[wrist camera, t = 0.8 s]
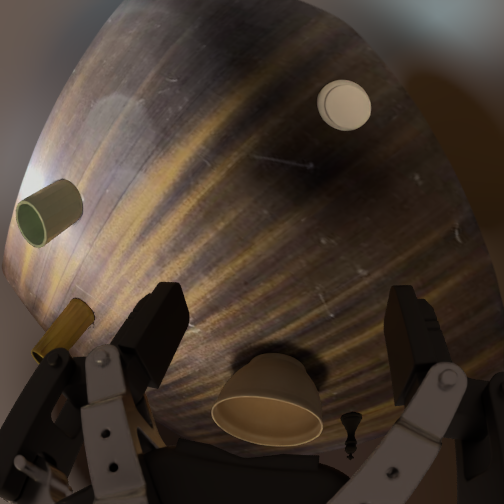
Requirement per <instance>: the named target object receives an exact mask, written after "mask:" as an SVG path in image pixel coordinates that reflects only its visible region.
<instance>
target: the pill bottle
mask: <svg viewBox="0 0 504 504" xmlns="http://www.w3.org/2000/svg"><path fill="white" fill-rule="evenodd" d="M317 107H318V110H319V113H320V115H321V117H322V118H323V120H324V121H325V122H326V123H327V124H328V125H330V126H331V127H333V128H335V129H338V130H342V131H350V130H355V129H357V128H359V127H360V126H362V125H363V124H364V123H365V122H366V121H367V120H368V118H369V117H370V113H371V103H370V100H369V97H368V95H367V94H366V92H365V91H364V89H363V88H362V87H360V86H359V85H358V84H356V83H354V82H352V81H348V80H336V81H333V82H331V83H329V84H327V85H326V86H324V87H323V88H322V90H321V91H320V92H319V94H318V98H317Z"/></svg>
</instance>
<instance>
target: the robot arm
mask: <svg viewBox="0 0 504 504" xmlns="http://www.w3.org/2000/svg"><path fill="white" fill-rule="evenodd" d="M188 325H189V310H188V307H187V304H186V301H185V298H184V295H183V291H182V288H181V285H180V284H179V283H177V282H159V283H158V285H157V286H156V288H155V289H154V290H153V292H152V293H149V294H147V295H146V296H145V297H144V298H142V299H141V300H140V301H139V302H138V303H137V305H136V306H135V308H134V309H133V312H131V313H130V315H129V316H128V319H126V321H125V322H124V324H123V325H122V327H121V328H120V329H119V331H118V332H117V334H116V335H115V337H114V338H113V340H112V341H111V343H110V344H105V345H100V346H98V347H96V348H94V349H93V350H92V351H91V352H90V353H89V354H88V356H87V357H72V356H71V355H70V353H69V352H68V350H67V349H65V348H55V349H53V350H51V351H50V352H48V353H47V354H46V355H45V357H44V358H43V360H42V361H41V363H40V364H39V366H38V367H37V369H36V370H35V372H34V373H33V375H32V376H31V378H30V380H29V381H28V383H27V384H26V386H25V388H24V389H23V391H22V393H21V394H20V396H19V397H18V399H17V401H16V402H15V404H14V406H13V408H12V409H11V411H10V413H9V415H8V416H7V418H6V420H5V422H4V423H3V425H2V427H1V429H0V497H1V498H3V499H4V500H6V501H7V502H9V503H11V504H404V503H405V502H406V501H407V499H408V498H409V497H410V495H411V494H412V493H413V491H414V490H415V488H416V487H417V485H418V484H419V482H420V481H421V479H422V478H423V476H424V475H425V473H426V472H427V470H428V469H429V467H430V465H431V464H432V462H433V460H434V459H435V457H436V455H437V454H438V452H439V450H440V448H441V445H442V443H441V440H442V438H443V437H446V438H452V439H455V448H456V461H457V462H456V464H457V504H504V372H499V373H497V374H495V375H494V376H493V377H492V379H491V380H490V381H482V380H476V379H471V378H468V377H466V375H465V373H464V371H463V370H462V369H461V368H460V367H459V366H457V365H456V364H453V363H452V361H451V358H450V354H449V351H448V348H447V345H446V342H445V339H444V336H443V334H442V331H441V330H440V325H439V323H438V321H437V317H436V315H435V312H434V309H433V308H432V306H431V305H430V304H429V303H428V302H427V301H426V300H425V299H417V297H416V295H415V292H414V289H413V287H412V286H411V285H399V286H392V287H391V289H390V294H389V299H388V303H387V308H386V313H385V317H384V335H385V341H386V346H387V352H388V358H389V365H390V371H391V378H392V386H393V394H394V402H395V406H401V405H404V406H405V410H404V412H403V413H402V415H401V416H400V418H399V419H398V420H397V421H396V422H395V424H394V425H393V426H392V428H391V429H390V430H389V432H388V433H387V435H386V436H385V437H384V439H383V440H382V441H381V443H380V444H379V445H378V446H377V448H376V449H375V450H374V452H373V453H372V454H371V455H370V456H369V458H368V459H367V460H366V461H365V462H364V464H363V465H362V466H361V467H360V468H359V469H358V471H357V472H356V473H355V474H354V475H353V476H352V477H351V478H349V477H348V476H347V475H345V474H344V473H343V472H341V471H339V470H337V469H335V468H333V467H330V466H328V465H324V464H321V463H319V456H317V455H316V456H315V455H291V454H279V455H272V456H263V457H254V458H242V457H239V456H236V455H234V454H231V453H229V452H227V451H224V450H222V449H220V448H217V447H215V446H213V445H210V444H205V443H200V442H195V441H191V440H186V439H181V438H179V439H178V442H177V445H175V446H165V444H164V442H163V440H162V439H161V437H160V435H159V433H158V430H157V427H156V424H155V421H154V418H153V415H152V412H151V408H150V405H149V402H148V398H147V395H146V394H145V391H146V389H147V386H148V387H152V388H157V389H158V388H159V386H160V384H161V382H162V380H163V378H164V376H165V373H166V371H167V369H168V367H169V365H170V363H171V361H172V359H173V356H174V354H175V352H176V350H177V348H178V346H179V344H180V342H181V340H182V338H183V336H184V334H185V331H186V329H187V327H188ZM61 394H63V395H64V396H65V397H66V398H67V401H66V402H65V404H64V406H63V408H62V410H61V412H60V414H59V416H58V418H57V419H56V421H55V423H53V421H52V419H51V412H52V410H53V408H54V406H55V404H56V402H57V401H58V399H59V397H60V395H61ZM83 441H84V442H85V449H86V455H87V460H88V466H89V471H90V476H91V481H92V484H91V485H89V486H87V487H85V488H83V489H81V490H79V491H77V492H75V493H73V490H72V488H71V487H70V486H69V484H68V476H69V474H70V472H71V469H72V467H73V464H74V462H75V460H76V457H77V455H78V453H79V450H80V448H81V446H82V444H83ZM72 493H73V494H72Z"/></svg>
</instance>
